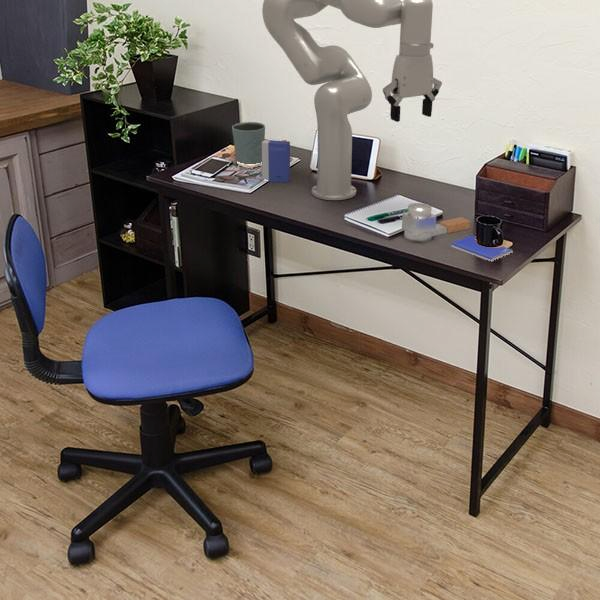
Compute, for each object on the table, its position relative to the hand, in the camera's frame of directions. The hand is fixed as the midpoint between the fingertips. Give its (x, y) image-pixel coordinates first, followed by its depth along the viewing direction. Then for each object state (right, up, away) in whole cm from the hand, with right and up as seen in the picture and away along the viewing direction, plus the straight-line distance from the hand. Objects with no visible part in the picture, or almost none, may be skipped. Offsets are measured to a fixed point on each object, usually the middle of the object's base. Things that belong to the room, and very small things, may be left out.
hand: (411, 118), depth 235 cm
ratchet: (+7, -29, 0) cm, 30 cm away
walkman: (-35, -11, +37) cm, 52 cm away
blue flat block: (+16, -35, -9) cm, 39 cm away
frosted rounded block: (+2, -29, -3) cm, 29 cm away
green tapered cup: (-44, -4, +51) cm, 68 cm away
